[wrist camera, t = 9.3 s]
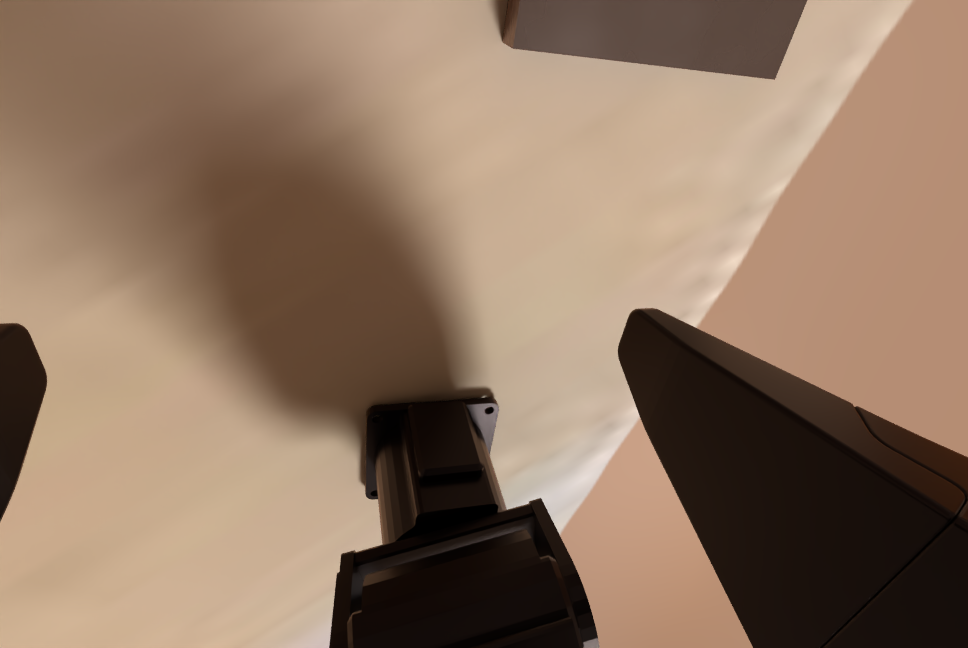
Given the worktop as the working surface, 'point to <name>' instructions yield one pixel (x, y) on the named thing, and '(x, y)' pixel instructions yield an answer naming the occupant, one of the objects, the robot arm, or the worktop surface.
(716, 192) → the worktop surface
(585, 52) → the shaft stand
